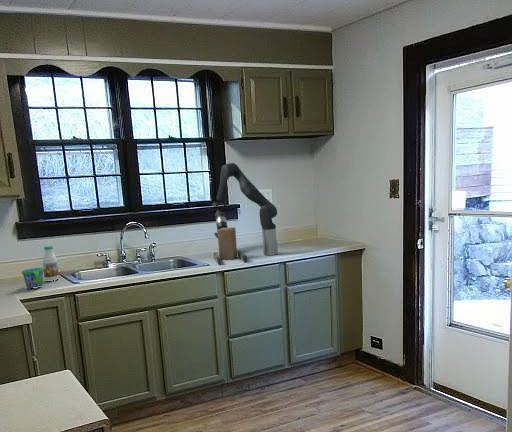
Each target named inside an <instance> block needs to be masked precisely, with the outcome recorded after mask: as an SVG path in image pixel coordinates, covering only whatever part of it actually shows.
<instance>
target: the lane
mask: <svg viewBox="0 0 512 432" xmlns="http://www.w3.org/2000/svg"><path fill="white" fill-rule="evenodd" d="M237 257H238V258H239V259H240V260H241V261H242V262H243V263H244V264H246V263H248V256H247V255H246V254H245V252H243V251H242V250H241V249H237ZM213 259H214V261H215V262H216V263H217V265H218V266H223V263H222V262H223V260H222V259H221V257H220V256H219V252H215V251H214V252H213Z"/></svg>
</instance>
